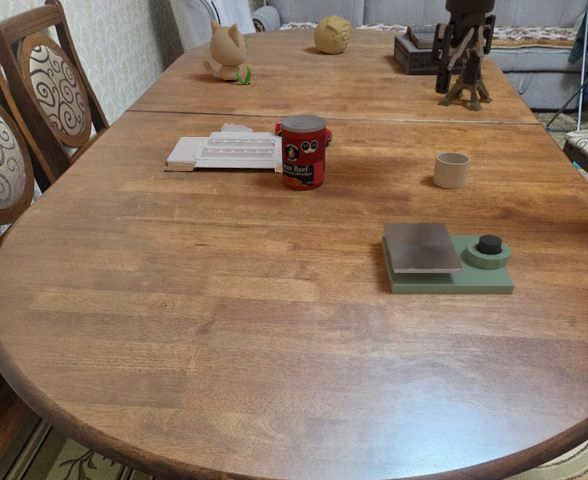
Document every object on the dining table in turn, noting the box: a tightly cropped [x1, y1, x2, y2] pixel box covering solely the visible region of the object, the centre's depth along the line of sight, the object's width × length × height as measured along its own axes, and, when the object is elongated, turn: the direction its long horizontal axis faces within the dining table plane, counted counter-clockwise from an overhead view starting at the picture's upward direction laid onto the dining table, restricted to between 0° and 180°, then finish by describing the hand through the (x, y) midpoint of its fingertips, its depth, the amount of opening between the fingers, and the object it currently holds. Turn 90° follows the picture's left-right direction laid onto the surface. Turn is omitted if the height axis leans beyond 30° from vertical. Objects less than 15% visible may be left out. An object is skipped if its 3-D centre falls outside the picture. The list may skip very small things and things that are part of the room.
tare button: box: [477, 234, 503, 255], centre depth 76 cm, size 3×3×2 cm
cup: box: [432, 151, 472, 190], centre depth 100 cm, size 6×6×4 cm
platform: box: [382, 222, 464, 273], centre depth 76 cm, size 9×13×1 cm
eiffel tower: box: [437, 55, 493, 112], centre depth 131 cm, size 11×11×25 cm
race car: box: [274, 119, 333, 144], centre depth 117 cm, size 13×5×4 cm, turn 57°
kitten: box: [202, 18, 252, 84], centre depth 153 cm, size 15×10×15 cm
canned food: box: [281, 114, 327, 191], centre depth 98 cm, size 8×8×11 cm
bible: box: [393, 24, 467, 76], centre depth 167 cm, size 23×27×10 cm
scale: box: [380, 234, 515, 295], centre depth 77 cm, size 17×14×3 cm
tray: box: [166, 122, 282, 173], centre depth 113 cm, size 20×28×4 cm
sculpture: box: [313, 14, 352, 55], centre depth 182 cm, size 11×12×11 cm
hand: (455, 88), depth 95 cm, fingers open, 8 cm apart
